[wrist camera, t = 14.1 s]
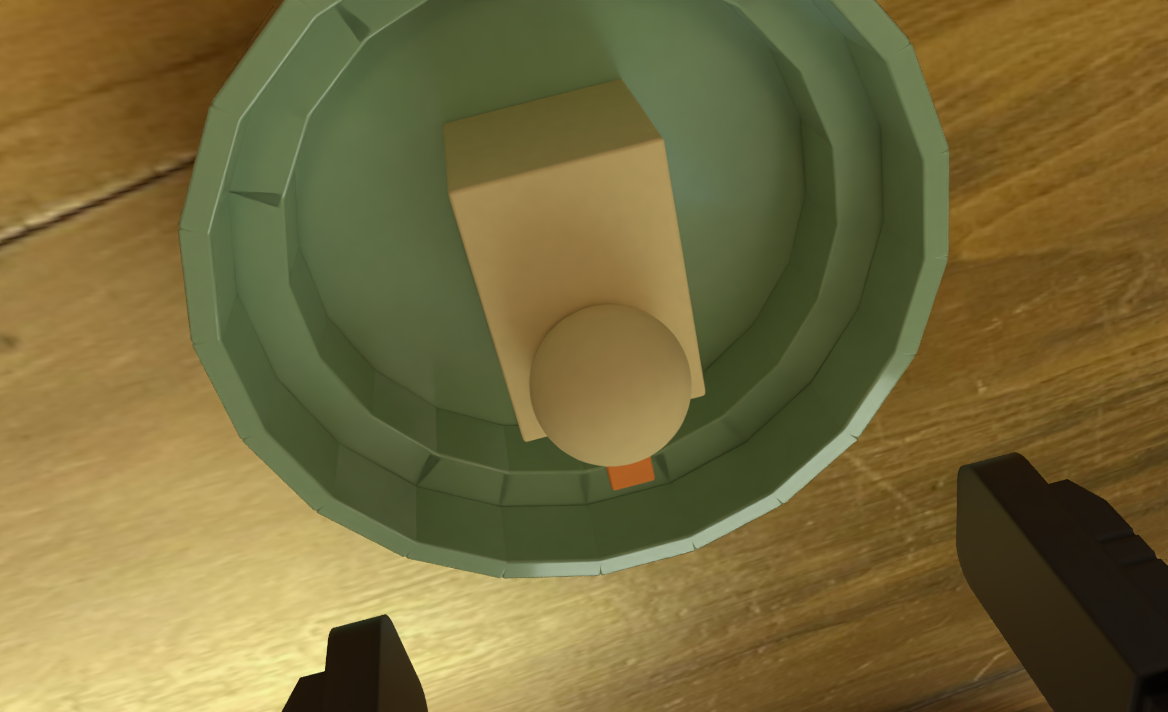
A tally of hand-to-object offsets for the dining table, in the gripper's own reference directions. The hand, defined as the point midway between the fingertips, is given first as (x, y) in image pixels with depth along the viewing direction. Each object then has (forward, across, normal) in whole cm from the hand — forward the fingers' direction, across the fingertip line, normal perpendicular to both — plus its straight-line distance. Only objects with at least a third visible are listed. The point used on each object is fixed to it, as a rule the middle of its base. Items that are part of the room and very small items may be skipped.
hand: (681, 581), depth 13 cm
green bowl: (+14, 0, 0) cm, 14 cm away
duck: (+13, 0, 0) cm, 13 cm away
